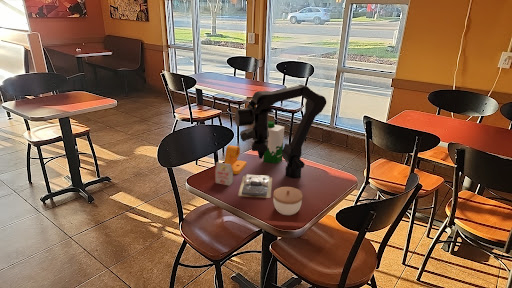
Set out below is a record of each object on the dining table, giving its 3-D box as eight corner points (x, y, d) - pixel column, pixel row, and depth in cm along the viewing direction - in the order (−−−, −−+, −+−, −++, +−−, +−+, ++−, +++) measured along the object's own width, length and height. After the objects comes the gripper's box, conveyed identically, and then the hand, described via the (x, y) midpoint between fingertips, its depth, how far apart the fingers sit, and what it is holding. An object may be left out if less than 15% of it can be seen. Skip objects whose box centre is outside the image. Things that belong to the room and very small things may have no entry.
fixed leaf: (268, 177, 145) (269, 172, 144) (267, 188, 136) (267, 183, 135) (246, 176, 146) (246, 171, 145) (243, 186, 137) (244, 181, 136)
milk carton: (269, 156, 169) (270, 119, 161) (284, 160, 164) (286, 122, 157) (260, 162, 162) (261, 123, 154) (276, 166, 157) (278, 127, 150)
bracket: (238, 176, 148) (238, 152, 143) (223, 173, 150) (223, 149, 145) (247, 166, 157) (247, 143, 152) (233, 164, 159) (233, 141, 155)
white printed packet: (218, 181, 143) (218, 160, 140) (233, 183, 141) (232, 162, 137) (215, 184, 140) (214, 163, 136) (229, 187, 138) (229, 166, 134)
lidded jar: (271, 218, 118) (272, 196, 114) (273, 202, 128) (274, 181, 124) (301, 221, 116) (303, 198, 113) (301, 205, 126) (303, 183, 123)
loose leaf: (268, 185, 138) (268, 181, 137) (266, 195, 129) (267, 190, 128) (244, 184, 139) (244, 179, 138) (241, 194, 129) (241, 189, 129)
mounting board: (272, 179, 145) (272, 177, 145) (270, 199, 129) (270, 197, 129) (243, 178, 146) (243, 176, 146) (238, 198, 130) (238, 195, 130)
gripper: (243, 116, 141) (243, 149, 147) (238, 130, 124) (239, 167, 130) (269, 116, 140) (268, 149, 146) (267, 131, 123) (267, 168, 129)
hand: (260, 158), depth 138 cm, fingers closed
